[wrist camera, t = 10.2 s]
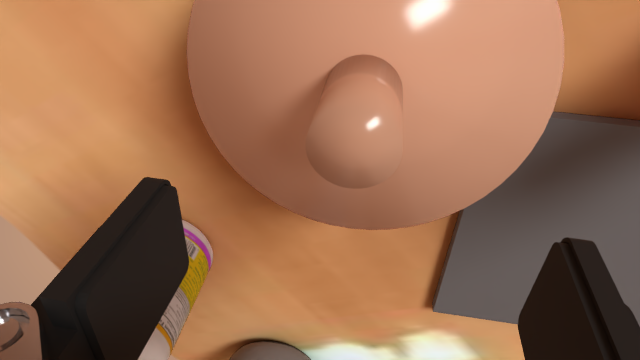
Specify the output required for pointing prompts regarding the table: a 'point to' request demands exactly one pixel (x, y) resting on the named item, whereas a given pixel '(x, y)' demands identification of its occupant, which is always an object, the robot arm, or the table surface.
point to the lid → (375, 100)
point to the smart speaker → (269, 352)
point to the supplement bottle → (181, 296)
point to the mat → (549, 218)
